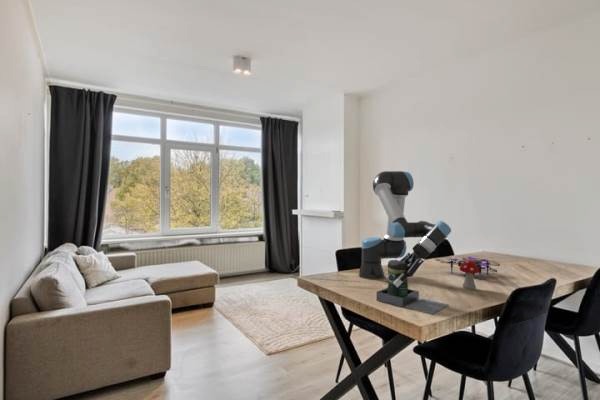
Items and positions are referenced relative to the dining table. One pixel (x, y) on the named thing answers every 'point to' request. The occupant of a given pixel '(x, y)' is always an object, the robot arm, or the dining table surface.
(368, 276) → the robot arm
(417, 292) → the locating collar
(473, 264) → the decorative mushroom
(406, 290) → the coffee jar
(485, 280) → the dining table surface
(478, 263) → the drone
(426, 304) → the rubber pad
